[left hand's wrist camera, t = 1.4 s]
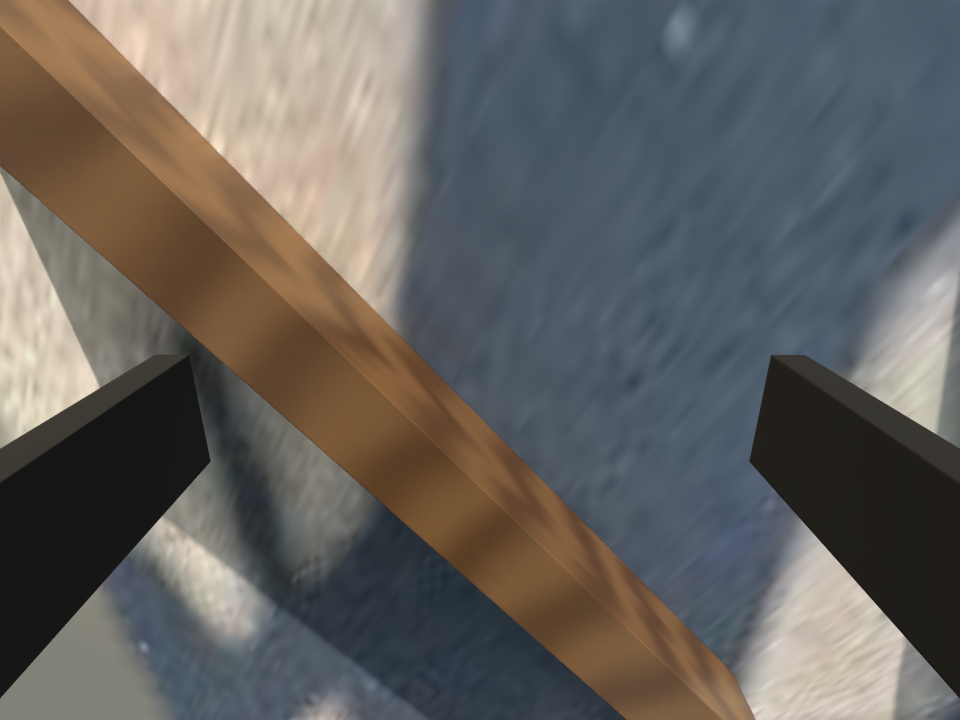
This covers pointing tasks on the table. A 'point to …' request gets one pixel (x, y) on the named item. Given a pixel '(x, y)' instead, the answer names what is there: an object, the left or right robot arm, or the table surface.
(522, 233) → the table surface
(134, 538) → the left robot arm
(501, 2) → the table surface
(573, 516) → the bar
